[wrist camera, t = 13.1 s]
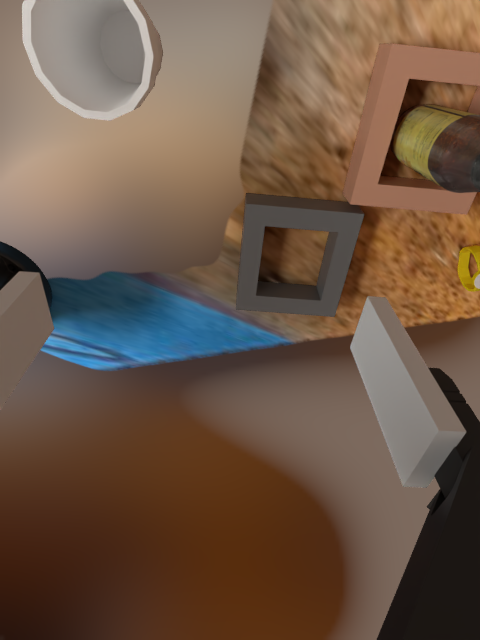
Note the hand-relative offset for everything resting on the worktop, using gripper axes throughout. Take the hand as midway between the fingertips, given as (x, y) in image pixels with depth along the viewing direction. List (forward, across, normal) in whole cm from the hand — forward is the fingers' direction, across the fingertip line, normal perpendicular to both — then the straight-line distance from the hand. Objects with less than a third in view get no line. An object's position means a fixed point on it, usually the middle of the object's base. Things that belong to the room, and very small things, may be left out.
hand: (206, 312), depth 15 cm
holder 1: (+34, +10, -13) cm, 38 cm away
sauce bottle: (+34, +22, +3) cm, 40 cm away
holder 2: (+34, +22, +3) cm, 40 cm away
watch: (+34, +34, -12) cm, 49 cm away
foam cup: (+34, -10, +8) cm, 37 cm away
